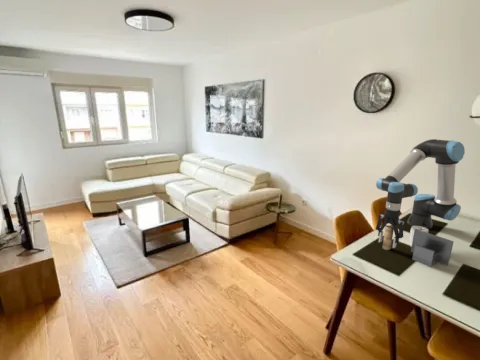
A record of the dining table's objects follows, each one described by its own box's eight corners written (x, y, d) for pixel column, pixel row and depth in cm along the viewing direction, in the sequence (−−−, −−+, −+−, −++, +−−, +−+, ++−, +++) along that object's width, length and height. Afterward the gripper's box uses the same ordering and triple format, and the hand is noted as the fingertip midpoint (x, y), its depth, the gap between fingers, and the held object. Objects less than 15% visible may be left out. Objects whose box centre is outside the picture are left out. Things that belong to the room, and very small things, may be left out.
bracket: (411, 250, 155) (416, 229, 152) (448, 264, 141) (453, 241, 137) (403, 255, 149) (407, 233, 146) (440, 271, 135) (446, 246, 131)
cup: (428, 251, 155) (432, 232, 152) (411, 249, 156) (414, 231, 153) (421, 243, 163) (424, 226, 160) (405, 242, 165) (408, 224, 162)
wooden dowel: (384, 245, 161) (387, 224, 157) (392, 248, 157) (395, 227, 154) (380, 247, 158) (384, 226, 155) (388, 250, 155) (391, 229, 151)
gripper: (372, 204, 157) (367, 239, 163) (408, 215, 141) (402, 253, 147) (378, 202, 161) (373, 236, 167) (415, 212, 145) (408, 249, 151)
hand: (387, 244), depth 157 cm, fingers open, 8 cm apart
